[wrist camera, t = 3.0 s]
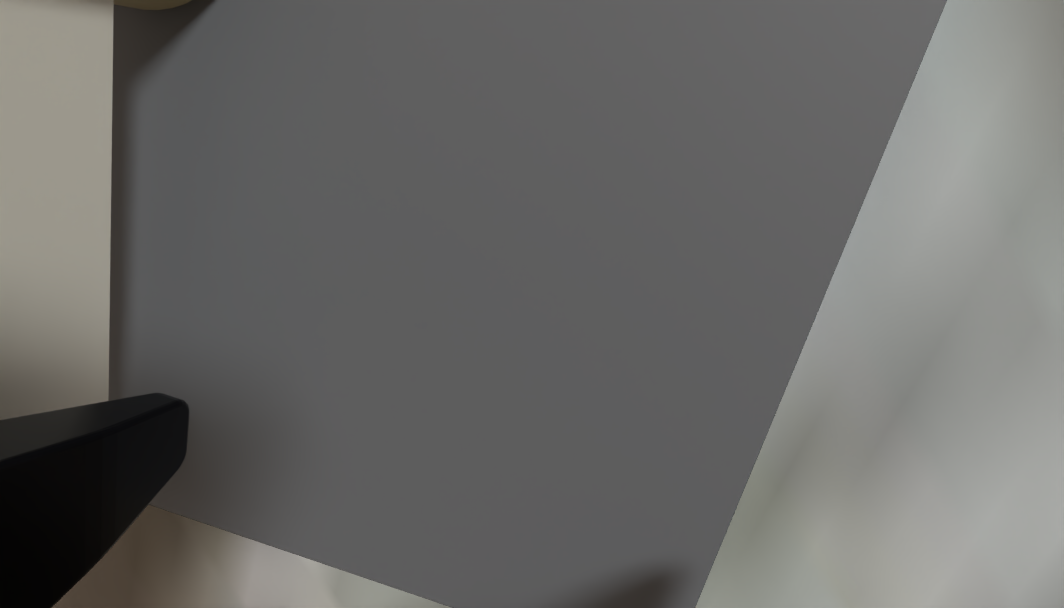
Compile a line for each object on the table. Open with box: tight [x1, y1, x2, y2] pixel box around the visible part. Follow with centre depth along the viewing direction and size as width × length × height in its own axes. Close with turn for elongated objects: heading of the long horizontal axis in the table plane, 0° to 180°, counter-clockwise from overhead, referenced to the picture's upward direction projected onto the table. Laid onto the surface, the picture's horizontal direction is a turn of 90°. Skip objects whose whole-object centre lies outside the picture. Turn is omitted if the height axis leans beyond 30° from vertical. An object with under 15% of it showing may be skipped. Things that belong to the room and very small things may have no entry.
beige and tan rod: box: [0, 0, 192, 420], centre depth 8 cm, size 12×4×4 cm, turn 166°
